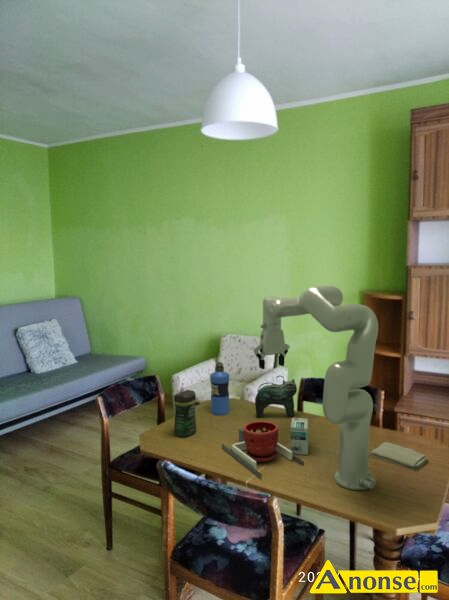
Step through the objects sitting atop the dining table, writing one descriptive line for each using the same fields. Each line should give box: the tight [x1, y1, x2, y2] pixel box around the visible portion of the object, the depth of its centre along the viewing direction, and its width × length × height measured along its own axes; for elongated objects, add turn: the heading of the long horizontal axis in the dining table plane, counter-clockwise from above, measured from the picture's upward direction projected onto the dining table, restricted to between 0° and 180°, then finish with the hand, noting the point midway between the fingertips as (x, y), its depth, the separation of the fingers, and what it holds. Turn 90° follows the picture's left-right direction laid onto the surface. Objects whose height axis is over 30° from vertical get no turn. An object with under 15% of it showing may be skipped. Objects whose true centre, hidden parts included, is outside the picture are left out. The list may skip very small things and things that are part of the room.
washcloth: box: [369, 441, 429, 471], centre depth 165 cm, size 12×18×3 cm, turn 44°
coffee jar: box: [173, 389, 197, 438], centre depth 190 cm, size 10×8×19 cm
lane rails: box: [221, 443, 305, 480], centre depth 168 cm, size 28×19×2 cm
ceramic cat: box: [254, 375, 298, 419], centre depth 208 cm, size 20×6×20 cm, turn 89°
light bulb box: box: [290, 417, 309, 456], centre depth 174 cm, size 11×7×11 cm, turn 168°
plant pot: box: [243, 420, 279, 463], centre depth 167 cm, size 13×13×12 cm
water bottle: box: [209, 361, 230, 417], centre depth 214 cm, size 9×9×25 cm
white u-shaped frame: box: [230, 427, 294, 471], centre depth 170 cm, size 22×17×6 cm
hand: (271, 366), depth 184 cm, fingers open, 9 cm apart
